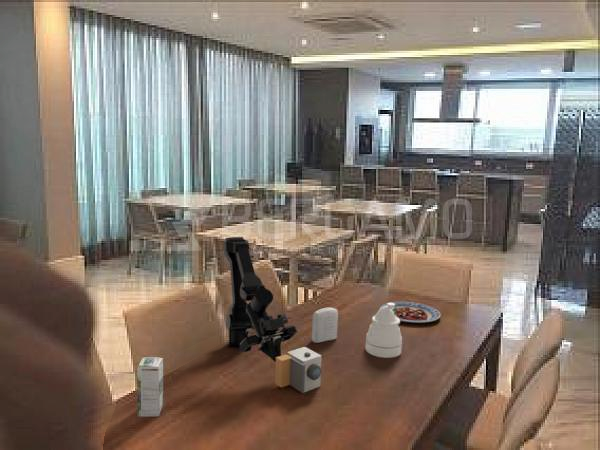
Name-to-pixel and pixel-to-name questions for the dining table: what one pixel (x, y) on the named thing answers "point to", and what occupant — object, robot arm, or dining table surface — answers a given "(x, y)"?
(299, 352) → the block
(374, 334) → the honey pot
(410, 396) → the dining table surface
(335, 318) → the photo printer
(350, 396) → the dining table surface
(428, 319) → the ceramic plate
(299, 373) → the side door
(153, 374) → the syrup box
